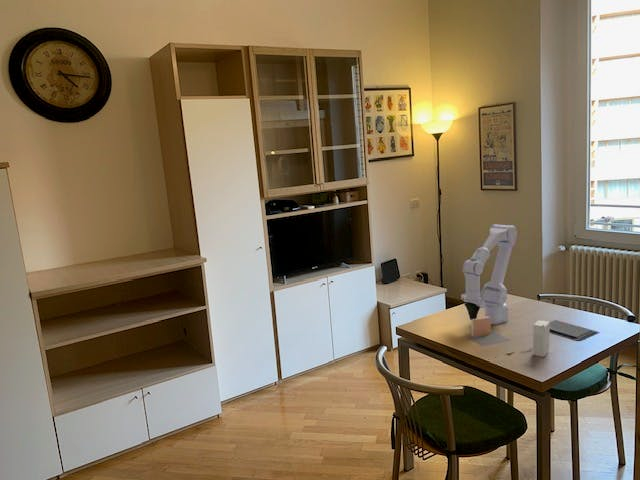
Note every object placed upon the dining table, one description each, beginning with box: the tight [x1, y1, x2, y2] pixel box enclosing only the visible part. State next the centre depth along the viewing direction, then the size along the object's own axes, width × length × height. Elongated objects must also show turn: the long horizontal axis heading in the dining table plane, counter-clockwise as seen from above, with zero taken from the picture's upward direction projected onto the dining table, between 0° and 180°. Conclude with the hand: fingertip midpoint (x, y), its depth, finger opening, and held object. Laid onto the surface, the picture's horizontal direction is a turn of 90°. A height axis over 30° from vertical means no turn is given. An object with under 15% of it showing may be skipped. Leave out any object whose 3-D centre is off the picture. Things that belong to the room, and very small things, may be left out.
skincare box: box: [532, 320, 551, 358], centre depth 188 cm, size 6×4×12 cm
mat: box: [465, 329, 511, 347], centre depth 204 cm, size 13×12×1 cm
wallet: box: [549, 319, 600, 342], centre depth 209 cm, size 20×2×15 cm
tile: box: [470, 316, 492, 337], centre depth 207 cm, size 8×2×7 cm, turn 107°
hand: (473, 319), depth 212 cm, fingers closed
